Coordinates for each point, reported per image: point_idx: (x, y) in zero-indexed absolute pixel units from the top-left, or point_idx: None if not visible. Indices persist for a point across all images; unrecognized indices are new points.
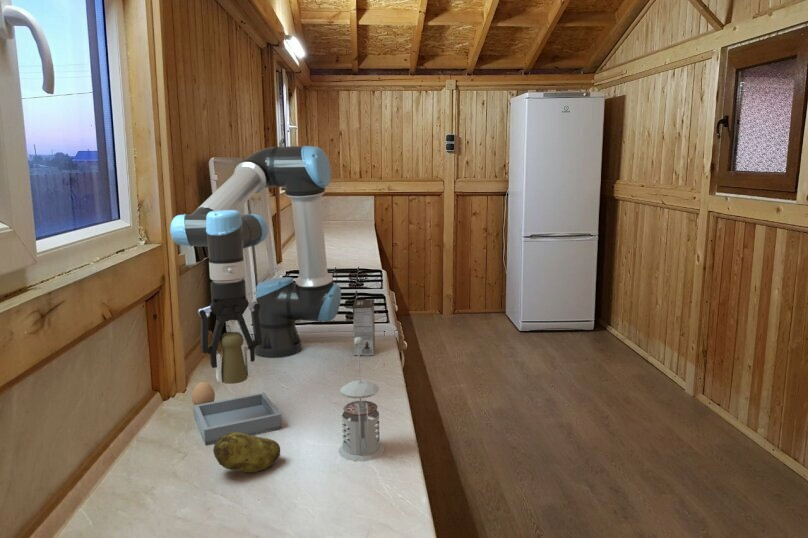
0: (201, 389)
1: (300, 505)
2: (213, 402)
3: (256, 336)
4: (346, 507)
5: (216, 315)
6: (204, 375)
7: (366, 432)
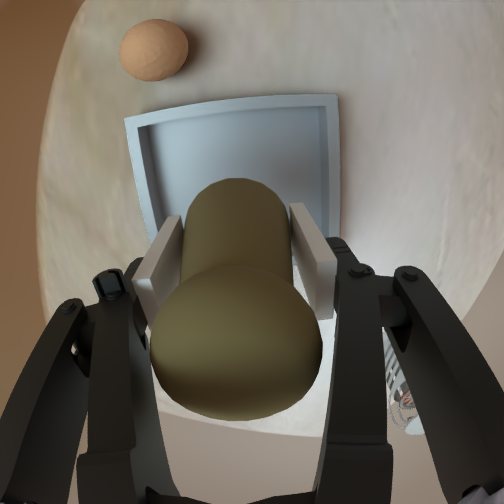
0: (138, 68)
1: (282, 414)
2: (178, 112)
3: (398, 360)
4: (320, 420)
5: None
6: None
7: (403, 388)
